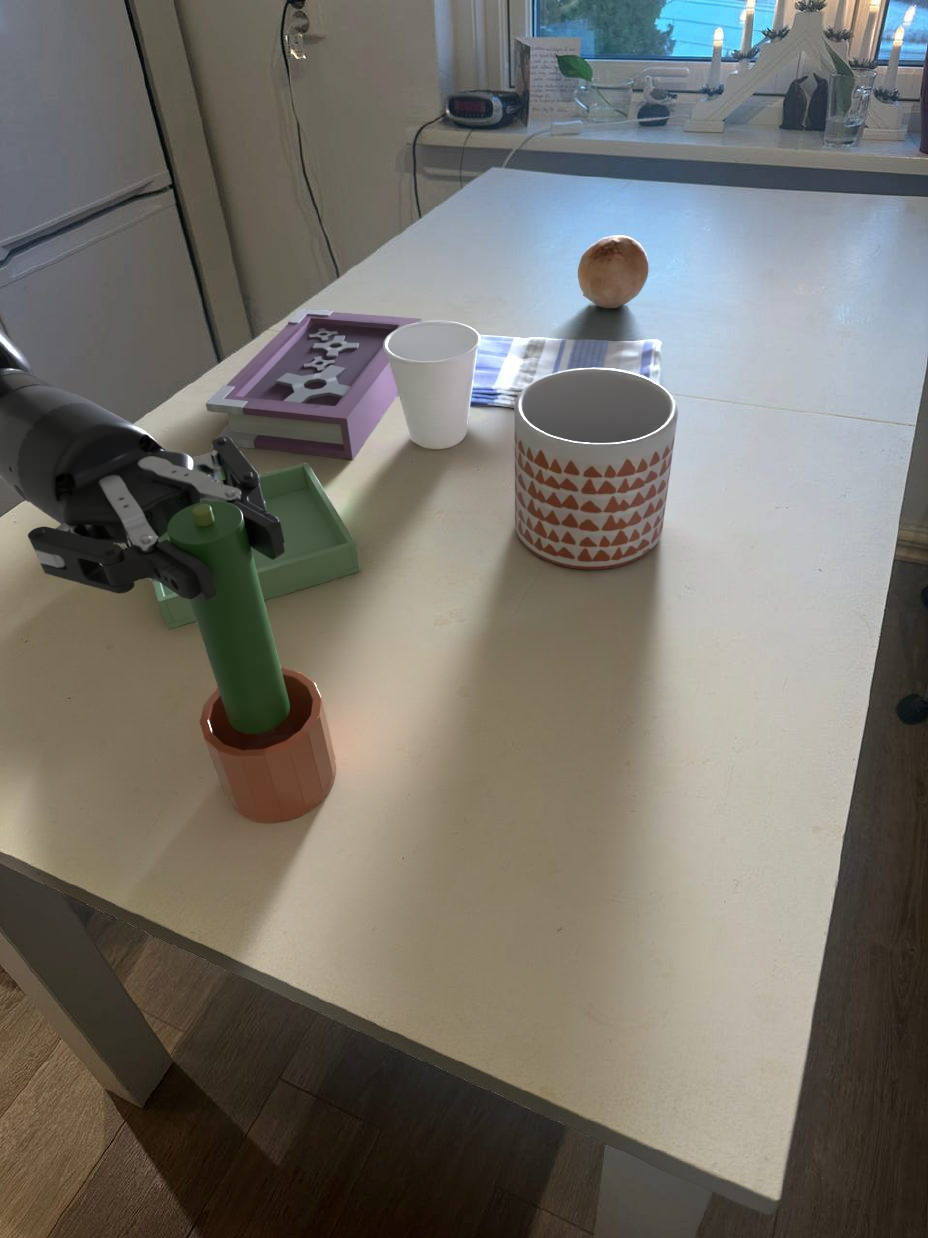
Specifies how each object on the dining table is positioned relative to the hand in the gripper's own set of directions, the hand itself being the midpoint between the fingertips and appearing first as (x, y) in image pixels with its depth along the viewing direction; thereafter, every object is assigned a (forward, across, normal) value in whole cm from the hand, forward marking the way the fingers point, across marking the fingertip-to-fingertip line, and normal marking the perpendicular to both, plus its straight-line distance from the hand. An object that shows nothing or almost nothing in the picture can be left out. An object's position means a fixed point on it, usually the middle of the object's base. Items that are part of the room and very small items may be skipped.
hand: (243, 563), depth 46 cm
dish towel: (-22, +60, +20) cm, 67 cm away
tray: (-26, +15, +20) cm, 36 cm away
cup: (-25, +42, +20) cm, 53 cm away
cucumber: (-3, 0, +14) cm, 14 cm away
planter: (-3, +38, +20) cm, 43 cm away
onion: (-30, +83, +20) cm, 90 cm away
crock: (-3, 0, +20) cm, 21 cm away
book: (-42, +40, +20) cm, 62 cm away
